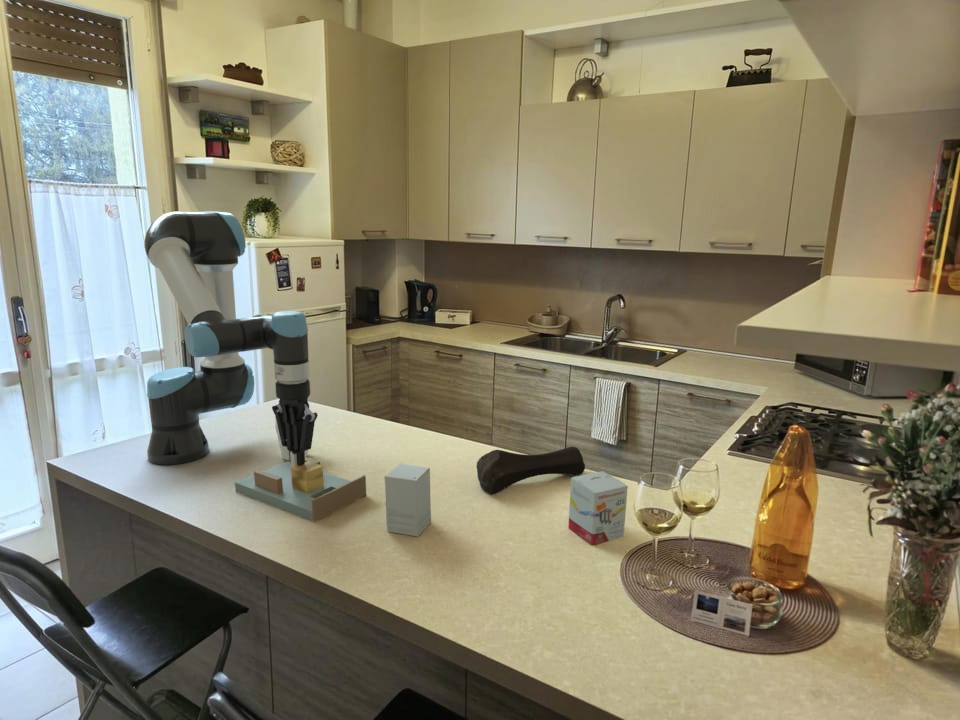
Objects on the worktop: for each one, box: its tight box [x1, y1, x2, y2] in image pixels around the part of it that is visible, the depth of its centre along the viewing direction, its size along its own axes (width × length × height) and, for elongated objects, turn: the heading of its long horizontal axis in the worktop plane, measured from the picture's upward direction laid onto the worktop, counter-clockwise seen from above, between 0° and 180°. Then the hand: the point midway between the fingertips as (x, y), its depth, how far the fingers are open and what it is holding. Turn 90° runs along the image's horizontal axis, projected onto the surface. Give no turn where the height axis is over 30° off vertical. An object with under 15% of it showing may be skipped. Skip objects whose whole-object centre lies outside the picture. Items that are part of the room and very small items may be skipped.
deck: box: [234, 456, 367, 523], centre depth 148 cm, size 27×16×6 cm, turn 57°
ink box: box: [567, 470, 629, 547], centre depth 130 cm, size 9×9×12 cm
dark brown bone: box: [476, 446, 586, 496], centre depth 156 cm, size 11×10×28 cm
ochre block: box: [291, 461, 324, 493], centre depth 146 cm, size 5×5×5 cm
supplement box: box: [384, 463, 432, 538], centre depth 132 cm, size 7×7×13 cm
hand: (298, 476), depth 148 cm, fingers closed
